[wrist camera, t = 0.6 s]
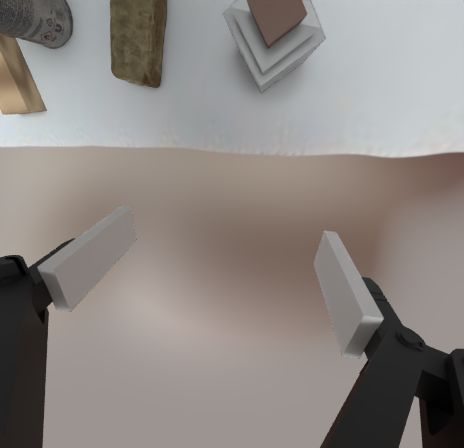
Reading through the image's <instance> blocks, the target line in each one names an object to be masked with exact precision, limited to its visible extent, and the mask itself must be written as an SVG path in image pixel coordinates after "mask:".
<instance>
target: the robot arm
mask: <svg viewBox="0 0 464 448" xmlns="http://www.w3.org/2000/svg"><path fill="white" fill-rule="evenodd" d="M136 240H137V239H136V232H135V226H134V220H133V214H132V208H131V207H129V206H119V207H118V208H117V209H115V210H114V211H113V212H111V213H110V214H109V215H107V216H106V217H105V218H103V219H102V220H100V221H99V222H98V223H97V224H95V225H94V226H92V227H91V228H90V229H88V230H87V231H85V232H84V233H83V234H81V235H80V236H79V237H77V238H76V239H75V238H74V239H71V240H69V241H67V242H64V243H63V244H61V245H60V246H58V247H57V248H56V249H54V250H53V251H51V252H50V254H48V255H46V256H44V257H43V258H42V259H40V260H39V261H37V262H36V263H35V264H33V265H32V266H30V267H29V268H28V267H27V265H26V263H25V261H24V259H23V257H21V256H19V255H9V256H4V257H1V258H0V448H42V445H43V444H42V443H43V424H44V423H43V422H44V402H45V401H44V400H45V381H46V359H47V338H48V317H49V312H48V309H47V306H48V305H49V304H50V303H51V302H53V303H54V305H55V307H56V310H60V311H67V312H72V310H73V309H74V308H75V307H76V306H77V305H78V304H79V303H80V301H81V300H82V299H83V298H84V297H85V296H86V295H87V294H88V293H89V292H90V291H91V289H92V288H93V287H94V286H95V285H96V284H97V283H98V282H99V281H100V280H101V278H102V277H103V276H104V275H105V274H106V273H107V272H108V271H109V270H110V269H111V267H113V265H114V264H115V263H116V262H117V261H118V260H119V259H120V258H121V257H122V256H123V254H124V253H125V252H126V251H127V250H128V249H129V248H130V247H131V246H132V245H133V243H134V242H135V241H136ZM314 267H315V270H316V273H317V277H318V280H319V283H320V286H321V290H322V293H323V296H324V299H325V303H326V306H327V309H328V312H329V316H330V318H331V322H332V325H333V329H334V332H335V335H336V338H337V341H338V345H339V348H340V351H341V354H342V356H345V357H351V358H357V359H359V358H360V357H361V355H362V353H363V352H365V354H366V356H367V359H368V361H367V362H366V364H365V365H364V367H363V369H362V370H361V372H360V373H359V374H360V375H359V377H358V378H357V380H356V382H355V384H354V386H353V388H352V390H351V391H350V393H349V395H348V397H347V399H346V401H345V402H344V404H343V406H342V408H341V410H340V412H339V413H338V415H337V417H336V419H335V421H334V423H333V425H332V427H331V428H330V430H329V432H328V434H327V436H326V438H325V439H324V441H323V443H322V445H321V447H320V448H399V444H400V441H401V438H402V435H403V431H404V428H405V425H406V421H407V418H408V415H409V412H410V408H411V405H412V402H413V398H414V396H416V397H418V398H419V406H420V419H421V431H422V446H423V448H464V349H455V350H453V351H452V352H451V353H450V354H447V353H444V352H442V351H439V350H436V349H434V348H432V347H429V346H427V345H426V344H425V342H424V340H423V339H422V338H421V337H420V336H419V335H418V334H416V333H415V332H414V331H412V330H411V329H409V328H406V327H405V326H403V325H402V323H401V321H400V320H399V318H398V317H397V315H396V313H395V312H394V310H393V309H392V307H391V305H390V304H389V302H387V299H386V297H385V296H384V295H383V293H382V291H381V289H380V288H379V286H378V285H377V284H376V283H375V282H373V281H372V280H371V279H370V278H364V277H361V276H360V274H359V272H358V271H357V269H356V267H355V265H354V264H353V262H352V260H351V258H350V256H349V254H348V252H347V251H346V249H345V247H344V245H343V243H342V242H341V240H340V238H339V236H338V235H337V233H336V232H331V231H324V233H323V236H322V239H321V242H320V245H319V248H318V252H317V255H316V258H315V261H314Z"/></svg>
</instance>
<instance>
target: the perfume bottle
mask: <svg viewBox="0 0 464 448" xmlns="http://www.w3.org/2000/svg"><path fill="white" fill-rule="evenodd" d="M223 15H224V17H225V20H226V22H227V24H228V26H229V29H230V31H231V33H232V35H233V38H234V40H235V42H236V45H237V47H238V49H239V51H240V53H241V55H242V57H243V59H244V60H245V62H246V64H247V66H248V68H249V70H250V72H251V74H252V76H253V78H254V80H255V82H256V84H257V86H258V88H259V90H260V92H261V93H262V92H263V91H265V90H266V89H267V88H269V87H270V86H271V85H273V84H274V83H276V82H277V81H278V80H280V79H281V78H282V77H284V76H285V75H287V74H288V73H289V72H291V71H292V70H293V69H295V68H296V67H298V66H299V65H300V64H302V63H303V62H304V61H305V60H306V59H307V58H308V57H309V56H310V54H311V53H312V52H313V51H314V50H315V49H316V48H317V47H318V46H319V45H320V44H321V43H322V42H323V41H324V40H325V38H326V37H325V35H324V32H323V30H322V27H321V24H320V22H319V19H318V17H317V14H316V11H315V9H314V6H313V3H312V1H311V0H236V1H235V2H234V3H233V4H232V5H231V6H230V8H229V9H227V10H226V11H225V12H224V13H223Z"/></svg>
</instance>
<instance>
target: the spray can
mask: <svg viewBox="0 0 464 448" xmlns="http://www.w3.org/2000/svg"><path fill="white" fill-rule="evenodd" d="M71 32H72V17H71V13H70V10H69V8H68V6H67V3H66V1H65V0H0V33H1V34H5V35H8V36H12V37H16V38H20V39H23V40H28V41H30V42H35V43H38V44H42V45H44V46H46V47H48V48H53V49H55V48H58V47H60V46H62V45H63V44H64V43H65V42H66V41H67V40H68V39H69V37H70V35H71Z"/></svg>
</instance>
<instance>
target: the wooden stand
mask: <svg viewBox="0 0 464 448" xmlns="http://www.w3.org/2000/svg"><path fill="white" fill-rule="evenodd" d="M0 109H1V111H2V113H3V114H25V113H32V112H39V111H47V110H46V108H45V106H44V103H43V101H42V99H41V96H40V94H39V92H38V89H37V87H36V85H35V82H34V80H33V78H32V75H31V73H30V71H29V69H28V66H27V64H26V62H25V59H24V57H23V55H22V52H21V50H20V48H19V45H18V43H17V41H16V39H15V37H12V36H8V35H5V34H1V33H0Z"/></svg>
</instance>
